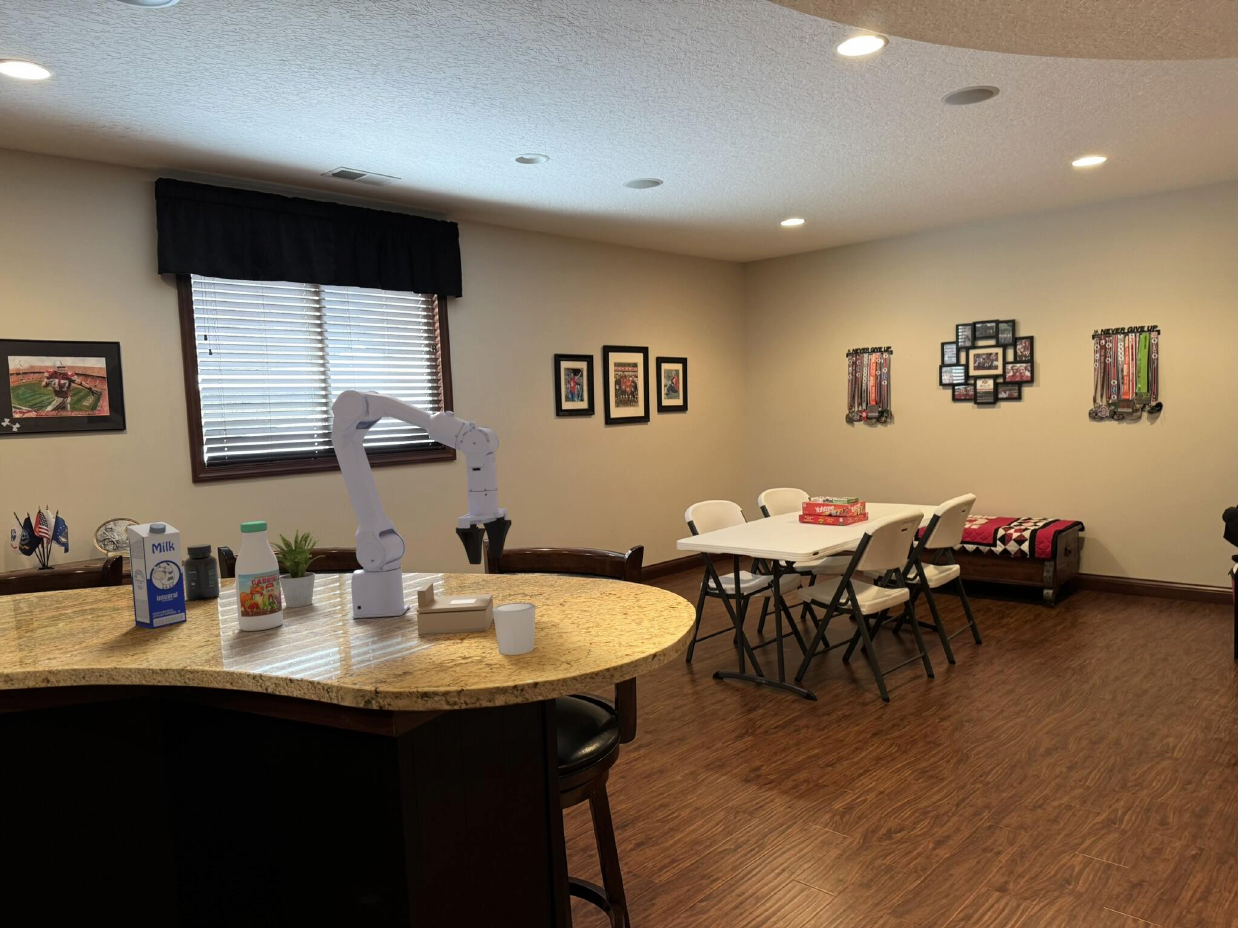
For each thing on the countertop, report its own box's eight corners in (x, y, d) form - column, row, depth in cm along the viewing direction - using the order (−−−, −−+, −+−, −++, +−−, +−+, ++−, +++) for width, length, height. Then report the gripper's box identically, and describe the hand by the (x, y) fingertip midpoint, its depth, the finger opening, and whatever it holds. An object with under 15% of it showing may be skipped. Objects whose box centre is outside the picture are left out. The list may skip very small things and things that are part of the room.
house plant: (281, 597, 186) (276, 524, 185) (343, 594, 185) (338, 521, 184) (251, 612, 171) (245, 533, 170) (318, 609, 171) (312, 530, 170)
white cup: (501, 658, 129) (498, 613, 128) (490, 648, 135) (487, 605, 135) (543, 651, 132) (541, 607, 131) (530, 641, 138) (528, 599, 137)
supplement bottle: (179, 601, 187) (174, 548, 187) (202, 594, 194) (198, 543, 193) (203, 601, 185) (199, 548, 185) (226, 594, 192) (222, 543, 191)
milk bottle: (229, 631, 156) (221, 525, 155) (260, 620, 163) (252, 519, 162) (262, 632, 153) (254, 525, 152) (292, 622, 160) (284, 519, 159)
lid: (416, 612, 146) (415, 592, 146) (428, 600, 156) (427, 581, 155) (485, 609, 146) (484, 588, 146) (492, 596, 156) (491, 577, 156)
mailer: (418, 634, 146) (416, 614, 146) (429, 620, 156) (428, 601, 156) (486, 630, 146) (485, 610, 146) (493, 617, 156) (492, 598, 156)
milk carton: (170, 617, 171) (162, 520, 169) (187, 620, 167) (179, 521, 166) (134, 625, 165) (125, 525, 164) (151, 629, 161) (142, 526, 160)
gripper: (479, 494, 151) (483, 568, 152) (519, 486, 165) (523, 554, 165) (446, 494, 154) (451, 566, 155) (489, 486, 167) (492, 553, 168)
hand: (486, 560), depth 160 cm, fingers open, 7 cm apart
